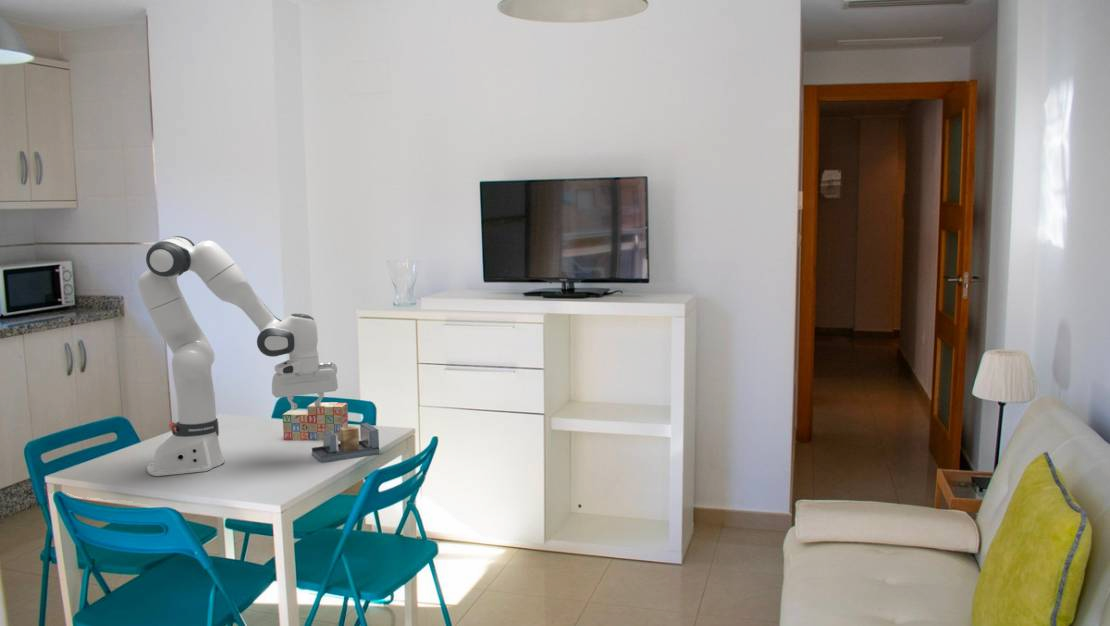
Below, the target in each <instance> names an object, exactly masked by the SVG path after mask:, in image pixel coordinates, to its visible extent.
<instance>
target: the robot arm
mask: <svg viewBox="0 0 1110 626" xmlns="http://www.w3.org/2000/svg"><path fill="white" fill-rule="evenodd" d="M145 262H146V265H147V267H148V269H147V270H146V271H144V272H143V273H142V274H140V276H139V278H138V280H137V286H138V290H139V292H140V296H141V299H142V301H143V303H144V306H145V308H146V310H147V312H148V314H149V316H150V318H151V320H152V323H154V326H155V328H156V329H157V332H158V334H159V335H160V336H161V338H162V339H163V340H164V342H165V343H166V344H167V347H168V348H169V350H170V351H171V352H172V354H173V356H172V358H171V371H172V379H173V382H174V389H175V394H176V402H177V403H176V404H177V418H178V419H177V420H178V421H176V422H174V421H171V422H169V424H168V428H169V429H170V430H171V433H172V434H171V436H169V437H168V438H167V439H166V440H165V441H164V442H162V443H161V444H160V445H158V447H157V448H156V450H155V452H154V458H153V461H152V462H150V463H149V464H147V467H146V472H147V473H148V474H149V475H150V476H153V477H161V476H171V475H181V474H191V473H201V472H202V473H203V472H208V471H210V470H211V469H213V468H216V467H219V466H220V465H222V464H224V463H225V459H224V456H223V454H222V450H221V446H220V441H219V435H220V426H219V425H220V424H219V419H218V418H217V411H216V408H217V407H216V395H215V391H214V384H213V375H212V365H213V363H214V361H215V352H214V349H213V348H212V346H211V344H210V342H209V340H208V339H207V337H206V335H205V333H204V332H203V330H202V328H201V327H200V325H199V324H198V322H197V321H196V319H195V317H194V315H193V313H192V311H191V309H190V307H189V305H188V303H187V301H186V299H185V297H184V295H183V293H182V291H181V288H180V285H179V284H178V277H180V276H181V275H183V274H184V273H187V272H188V271H191V272H194V273H195V274H196V275H197V276H198V277H199V278H200V279H201V281H202V282H203V283H204V285H205V286H206V287H207V288H208V289H209V291H211V293H213V294H214V296H216V297H217V298H218V299H219V300H221V301H223V302H226V303H229V304H232V305H235V306H237V308H239V309H241V311H242V312H244V313H245V314H246V316H247V317H248V318H249V320H251V321H252V323H253V324H254V325H255V326H256V327H257V329H258V330H259V334H258V336H257V337H256V346H257V348H258V350H259V352H260V353H262V354H263V355H264V356H266V357H267V356H268V357H279V356H282V355H287V354H288V355H289V359H287V360H285V361H283V362H280V363H277V364H276V365H274V372H275V373H274V374H273V377H272V382H271V394H272V395H273V396H274V397H275V398H287V400H288V402H289V403H290V407H291V408H290V409H291V410H293V411H297V410H298V404H297V403H295V402H294V401H293V400H294V397H297V396H303V395H311V394H312V395H314V394H317V395H318V398H317V399H316V400H314V402H315V407H320V406H321V403H322V400H323V399H324V396H325V393H331V392H336V391H337V390H338V389H339V386H338V379H337V374H338V366H337V365H336V364H335V363H333V362H321V363H319V362H320V361H319V352H318V348H317V347H318V341H319V339H318V328H317V323H316V320H315V319H314V317H313V316H311V315H308V314H303V313H292V314H290V315H288V316H287V317H286V318H284V319H283V320H282V319H280V318H278V317H277V316H275V315H274V314H273V312H271V310H270V309H269V308H268V306H267V305H266V304H265V303H264V302H263V301H262V300H261V298H260V297H259V296H258V295H257V293H256V292H255V291H254V289H253V287H252V286H251V284H250V283H249V280H248V278H247V277H246V275H245V274H244V272H243V270H241V268H240V267H239V265H238V263H236V262H235V260H234V259H233V258H232V256H231V255H230V254H228V252H227V251H225V250H224V249H223V248H222V247H221V246H220V245H219V244H218V243H217V242H215V241H214V240H209V239H208V240H203V241H200V242H198V243H197V244H195V243H194V242H193V241H192V240H191V239H189V238H187V237H184V236H179V235H178V236H177V235H176V236H171V237H167V238H163V239H162V240H160V241H158V242H156V243H154V244H153V245H152V246H151V247H150V248H149V249H148V250H147V253H146V257H145Z"/></svg>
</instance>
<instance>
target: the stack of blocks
mask: <svg viewBox="0 0 1110 626" xmlns="http://www.w3.org/2000/svg"><path fill="white" fill-rule="evenodd" d="M306 408H307V410H292V409H291V410H287V411H286V412H284V413H283V414H282V428H283V441H284V440H285V441H320V440H323V431H325V430H329V431H332V432H333V433H334V434H336V435H337V436H338V442H340V428H342V427H349V422H348V420H349V412H348V411H349V410H348V403H347V402H336V401H335V402H334V401H331V402H321V406H320V407H315V402H312V403H310V404H309V405H307V407H306Z"/></svg>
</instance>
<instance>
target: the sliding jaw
mask: <svg viewBox="0 0 1110 626" xmlns="http://www.w3.org/2000/svg"><path fill="white" fill-rule="evenodd" d="M322 443H323V446H324V450H326V451H327V452H328V453H337V452H338V444H339V441H338V436H337V435H336V434H334V433H333V432H332V431H329V430H325V431H323V441H322Z"/></svg>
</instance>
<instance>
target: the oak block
mask: <svg viewBox="0 0 1110 626" xmlns="http://www.w3.org/2000/svg"><path fill="white" fill-rule="evenodd" d="M359 433H360V431H359V428H358V426H356V425H351V426H348V427H342V428H340V441H339V444H340V448H341V450H343V451H350V450H356V449H359V441H360V436H359Z"/></svg>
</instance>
